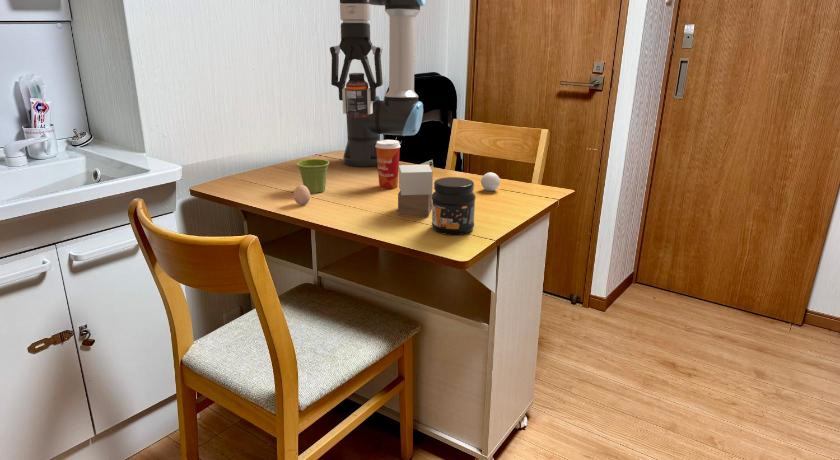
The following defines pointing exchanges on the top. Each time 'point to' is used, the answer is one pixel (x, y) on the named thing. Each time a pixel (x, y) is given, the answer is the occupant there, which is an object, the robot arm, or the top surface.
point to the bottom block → (414, 205)
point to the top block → (415, 179)
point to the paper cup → (388, 163)
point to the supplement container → (453, 205)
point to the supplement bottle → (357, 96)
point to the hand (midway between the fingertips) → (357, 113)
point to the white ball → (490, 181)
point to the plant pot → (314, 174)
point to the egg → (302, 195)
